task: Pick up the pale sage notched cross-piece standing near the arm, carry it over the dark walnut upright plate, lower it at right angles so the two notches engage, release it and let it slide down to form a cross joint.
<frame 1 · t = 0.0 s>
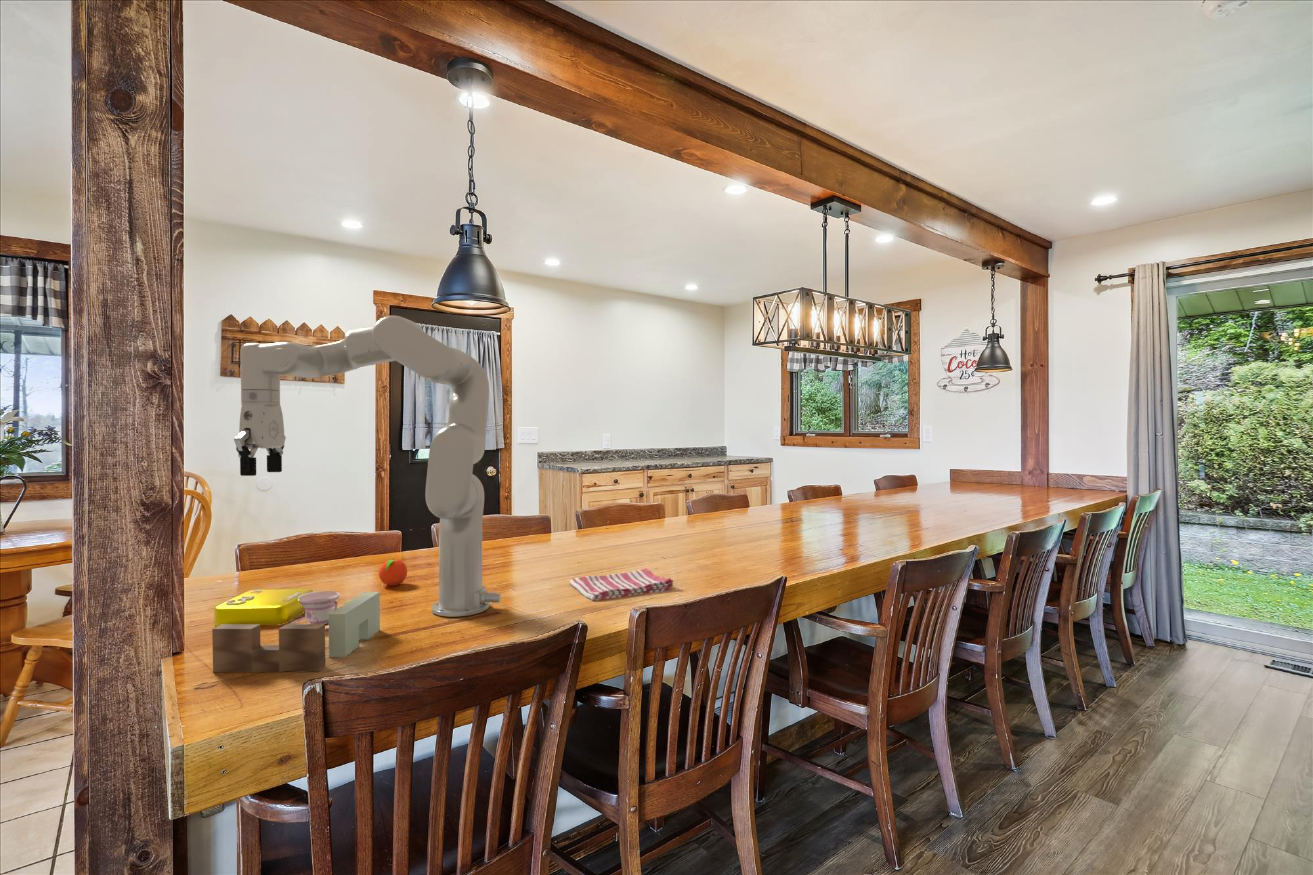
hand: (261, 473, 144), 31 cm above the table, tool pointing down, fingers open, 9 cm apart
dish towel: (620, 590, 165), on the table
element tile: (266, 617, 141), on the table
walnut upright plate: (269, 669, 110), on the table
clementine: (392, 586, 166), on the table
teacup: (320, 625, 135), on the table
sage cross-piece: (356, 642, 123), on the table
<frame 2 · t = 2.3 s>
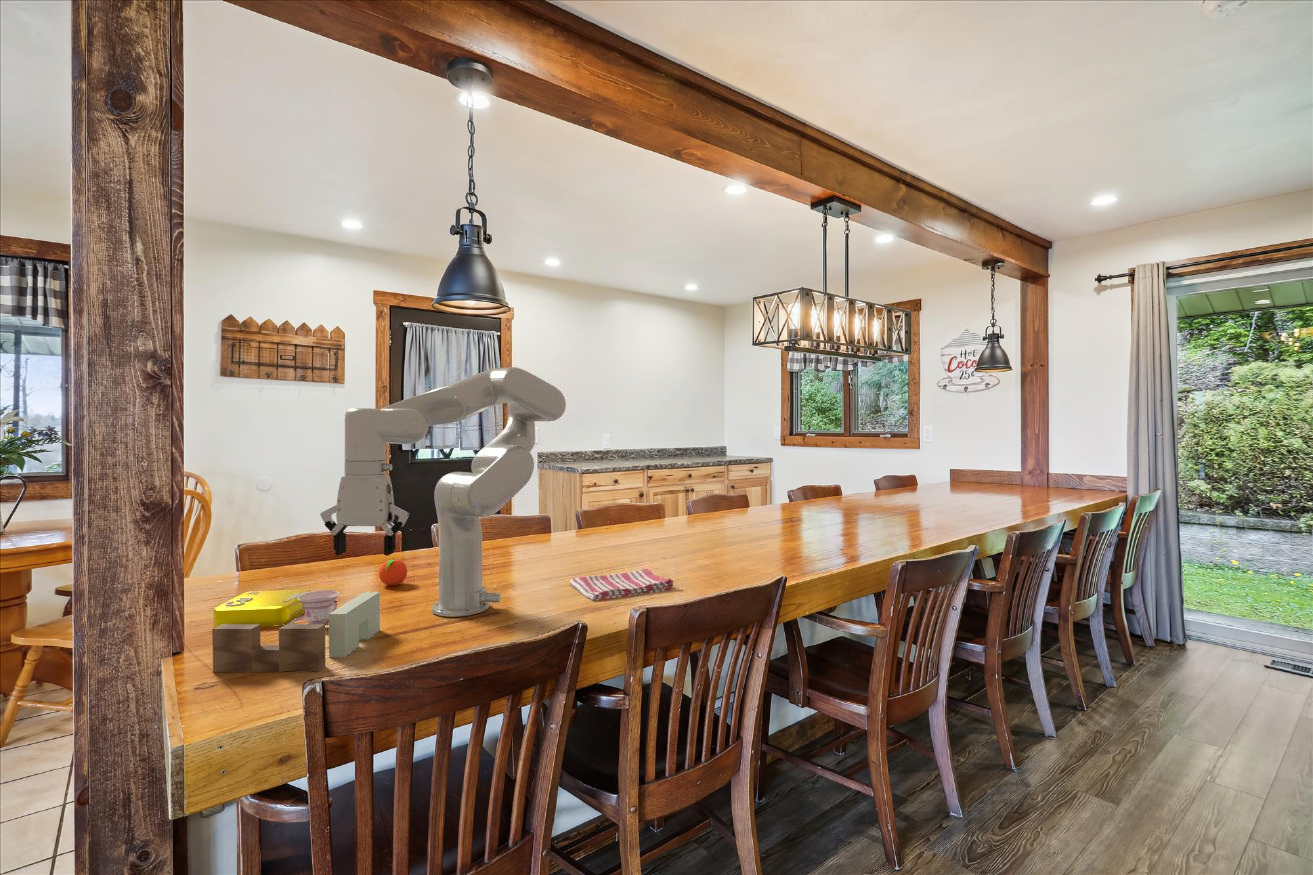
hand: (364, 554, 128), 16 cm above the table, tool pointing down, fingers open, 9 cm apart
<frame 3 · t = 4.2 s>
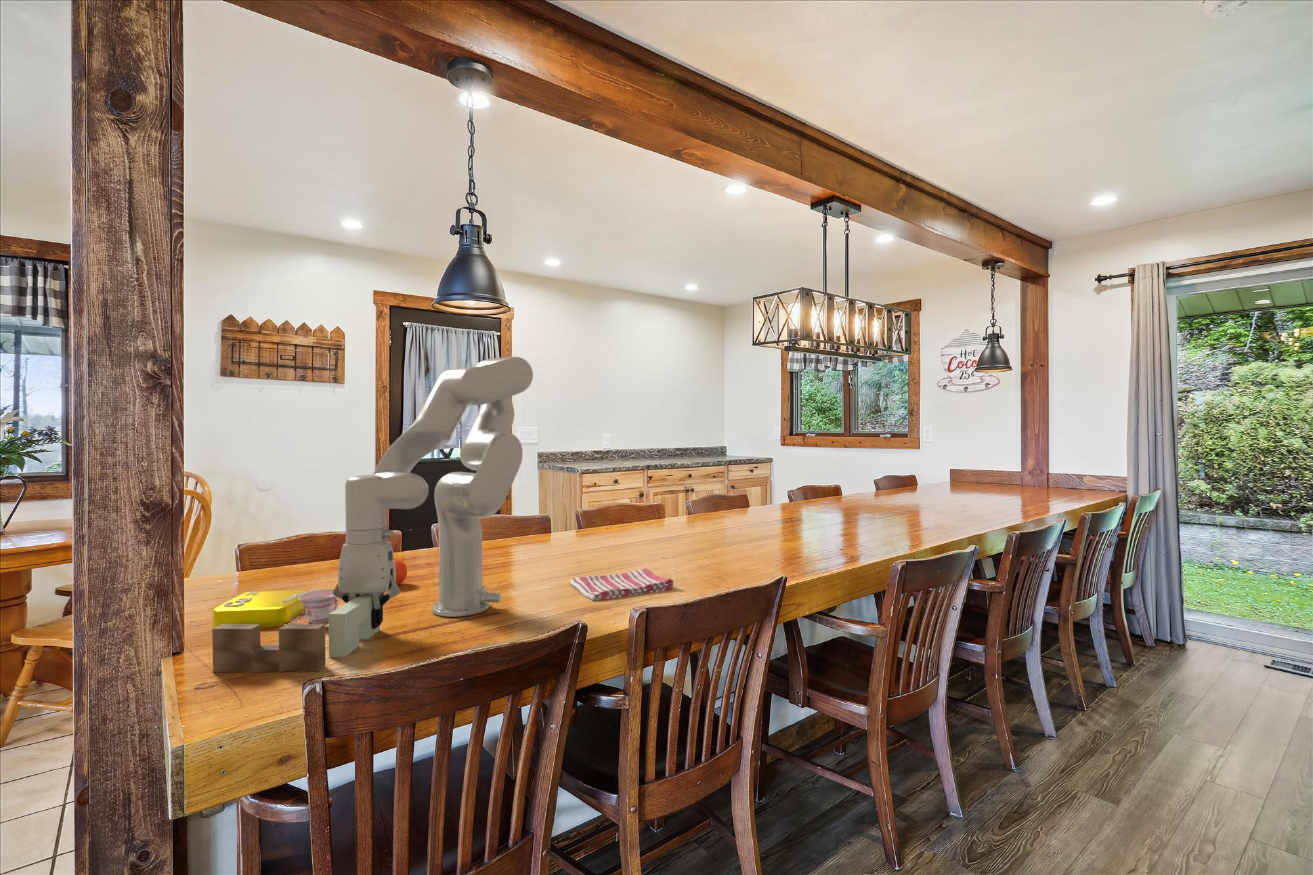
hand: (367, 625, 128), 2 cm above the table, tool pointing down, fingers closed on sage cross-piece, 3 cm apart
sage cross-piece: (355, 642, 123), on the table, touching gripper
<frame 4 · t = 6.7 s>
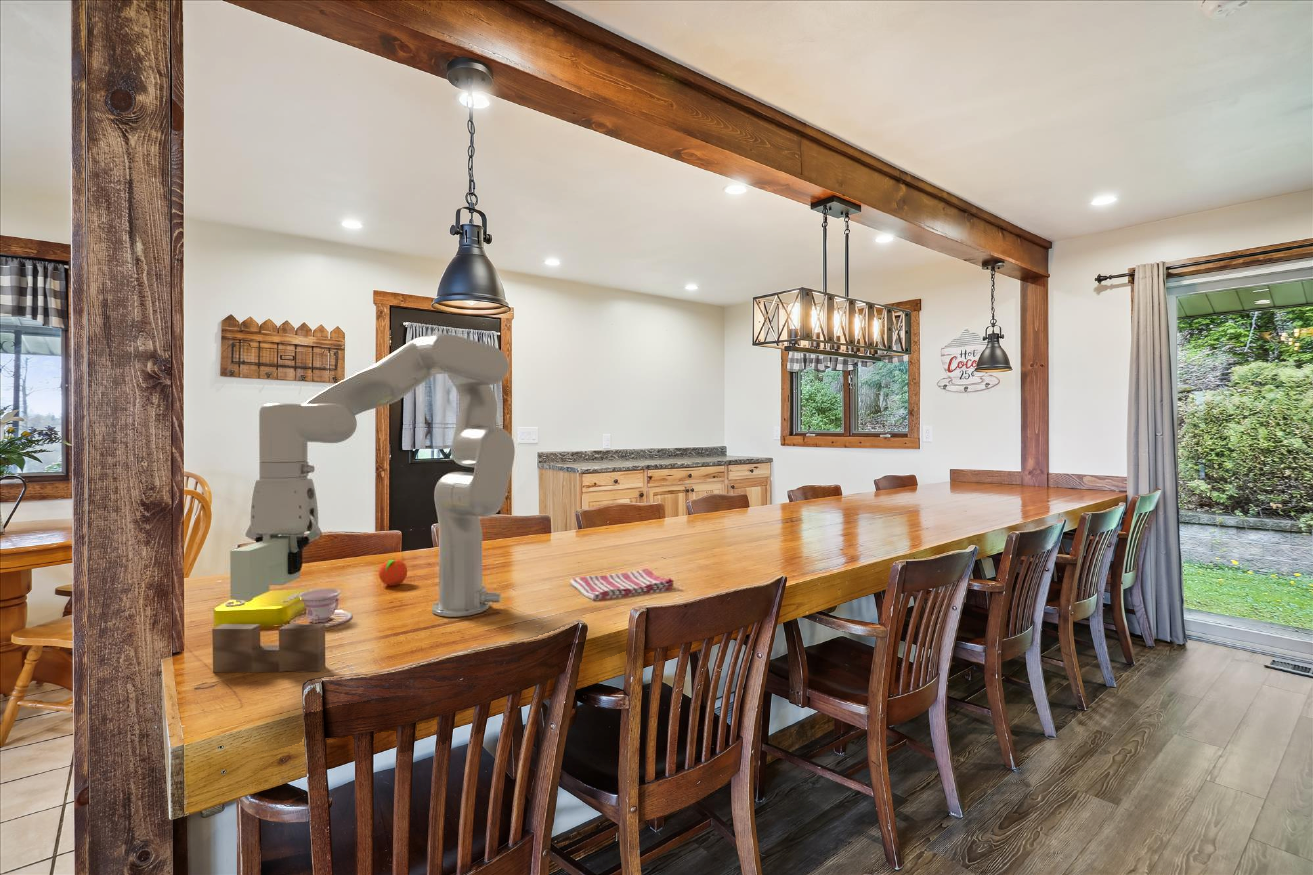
hand: (284, 571, 115), 16 cm above the table, tool pointing down, fingers closed on sage cross-piece, 3 cm apart
sage cross-piece: (267, 588, 110), point 14 cm above the table, touching gripper
when the fingers open (3 cm above the table, at t = 9.3 s): sage cross-piece drops 1 cm, on the table.
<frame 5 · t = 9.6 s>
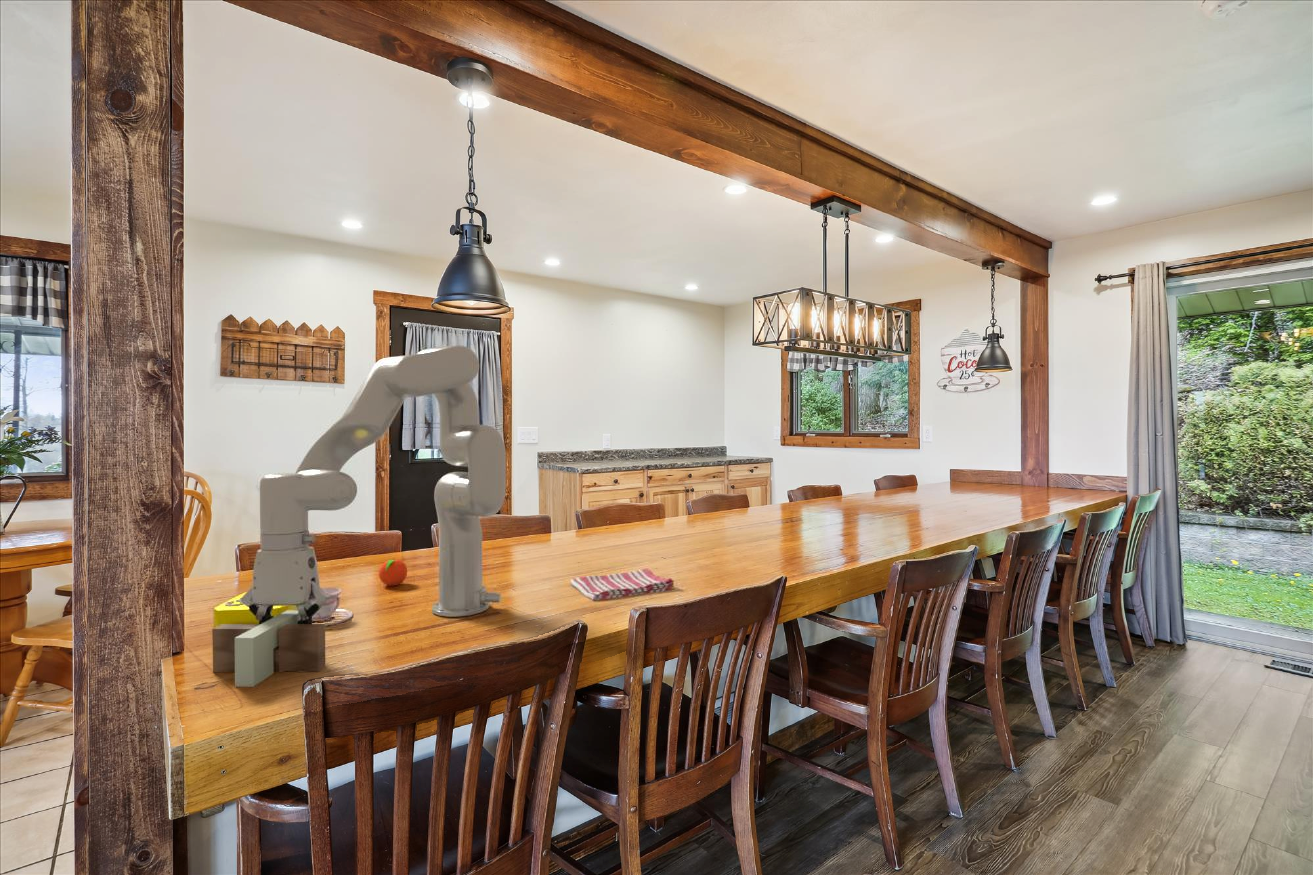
hand: (285, 639, 115), 4 cm above the table, tool pointing down, fingers open, 6 cm apart
sage cross-piece: (271, 668, 111), on the table
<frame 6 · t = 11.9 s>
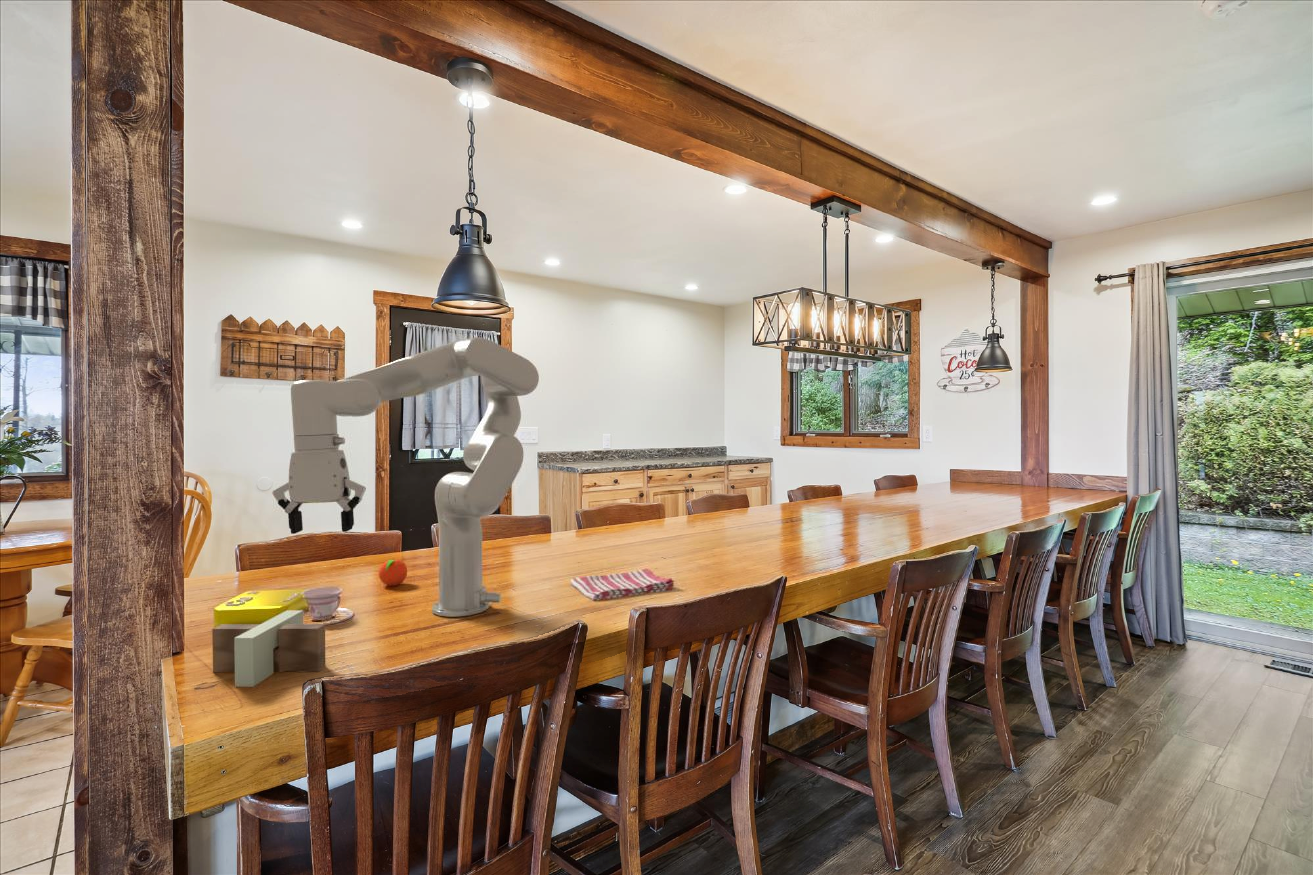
hand: (322, 531, 124), 22 cm above the table, tool pointing down, fingers open, 9 cm apart
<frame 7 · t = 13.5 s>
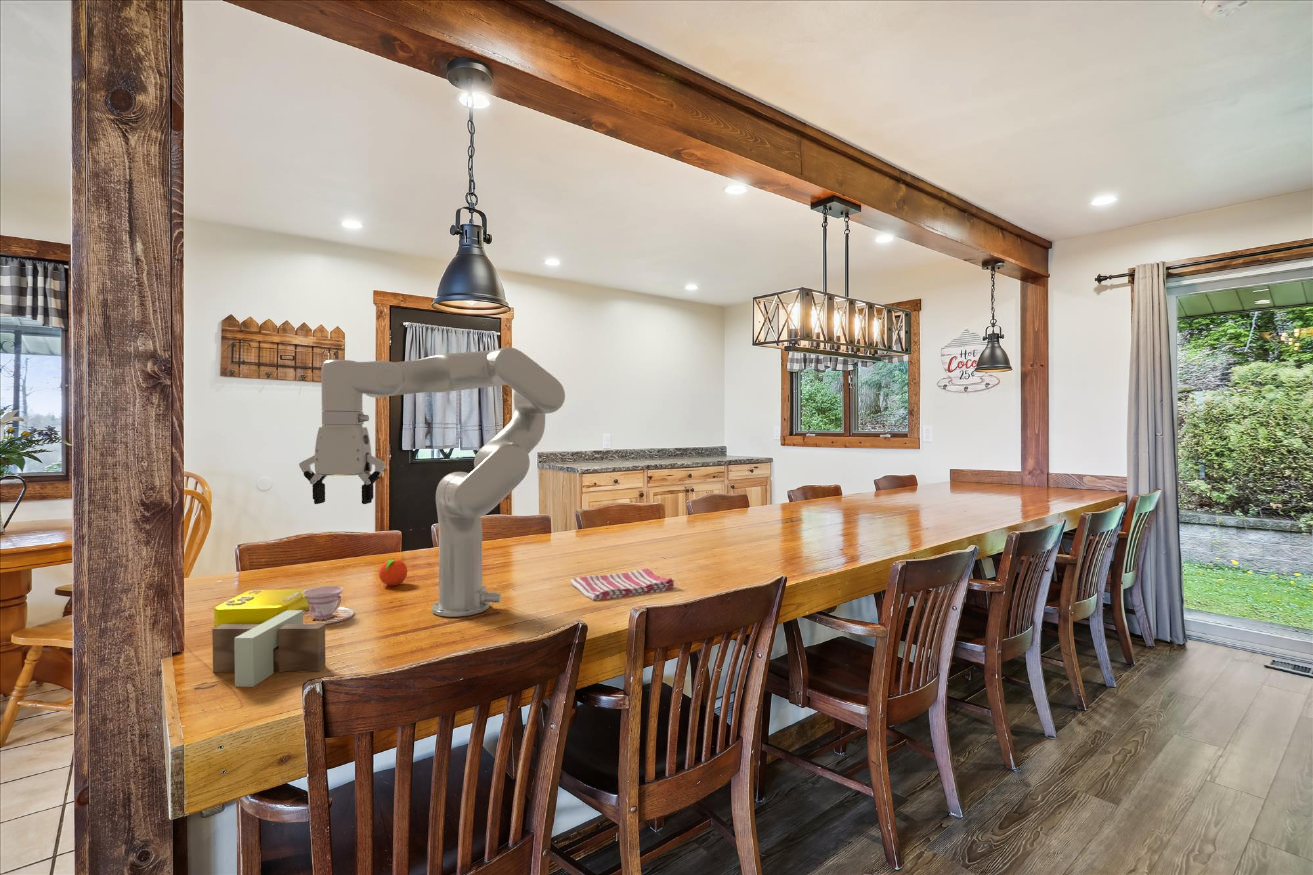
hand: (343, 503, 131), 26 cm above the table, tool pointing down, fingers open, 9 cm apart
at the end: sage cross-piece 0.3 cm off-centre on the walnut upright plate, point 0.0 cm above the walnut upright plate's base; sage cross-piece tilted 0°; the gripper is holding nothing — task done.
